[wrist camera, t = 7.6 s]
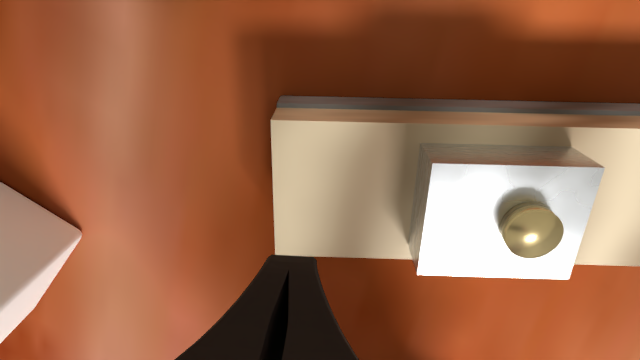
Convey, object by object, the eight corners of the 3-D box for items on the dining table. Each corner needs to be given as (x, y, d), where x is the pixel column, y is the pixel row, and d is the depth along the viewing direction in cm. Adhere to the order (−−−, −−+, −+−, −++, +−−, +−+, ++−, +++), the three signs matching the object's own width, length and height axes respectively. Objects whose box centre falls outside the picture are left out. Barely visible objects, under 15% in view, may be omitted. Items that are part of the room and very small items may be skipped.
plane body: (800, 107, 19) (895, 129, 16) (736, 233, 22) (806, 274, 18) (280, 95, 19) (270, 115, 16) (283, 221, 22) (275, 258, 19)
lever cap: (542, 248, 18) (578, 291, 16) (407, 244, 18) (420, 285, 16) (571, 146, 16) (617, 175, 14) (420, 142, 16) (437, 171, 14)
